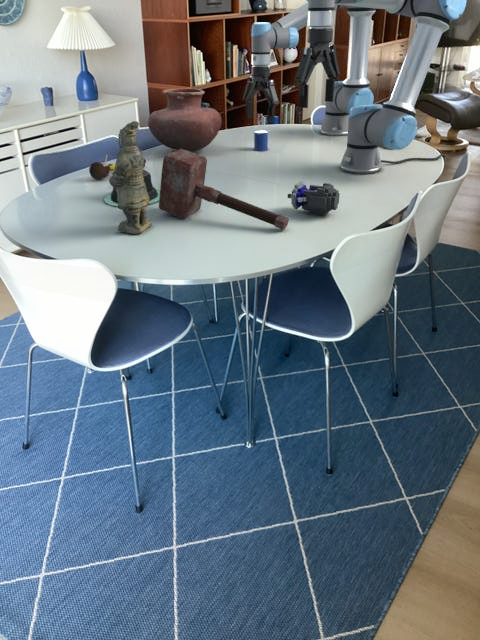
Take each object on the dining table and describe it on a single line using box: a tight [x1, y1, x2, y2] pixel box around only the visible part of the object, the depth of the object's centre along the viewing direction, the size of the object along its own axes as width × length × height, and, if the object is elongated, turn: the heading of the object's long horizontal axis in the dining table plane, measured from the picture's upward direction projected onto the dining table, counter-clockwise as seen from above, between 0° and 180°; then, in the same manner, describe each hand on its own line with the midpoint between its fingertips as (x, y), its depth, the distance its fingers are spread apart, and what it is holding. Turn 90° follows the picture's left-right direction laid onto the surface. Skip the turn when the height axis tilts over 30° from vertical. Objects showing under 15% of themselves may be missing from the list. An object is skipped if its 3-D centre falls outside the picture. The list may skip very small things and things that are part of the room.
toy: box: [287, 180, 341, 216], centre depth 168 cm, size 9×9×15 cm
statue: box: [108, 120, 153, 235], centre depth 154 cm, size 11×9×30 cm
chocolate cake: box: [103, 168, 160, 207], centre depth 186 cm, size 15×19×20 cm
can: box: [253, 130, 269, 152], centre depth 240 cm, size 6×6×8 cm
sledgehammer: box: [158, 149, 290, 231], centre depth 163 cm, size 17×10×40 cm
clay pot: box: [147, 87, 223, 153], centre depth 235 cm, size 30×30×25 cm
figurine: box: [88, 154, 147, 181], centre depth 212 cm, size 13×8×25 cm
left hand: (260, 120), depth 235 cm, fingers open, 13 cm apart
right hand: (316, 104), depth 173 cm, fingers open, 13 cm apart
